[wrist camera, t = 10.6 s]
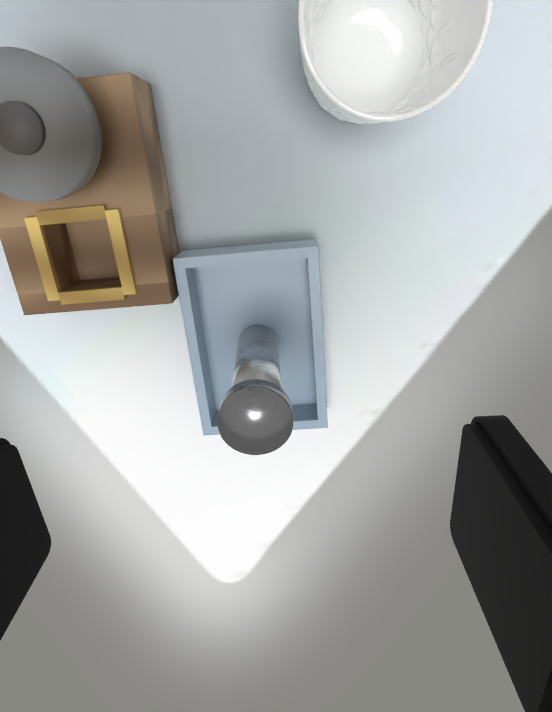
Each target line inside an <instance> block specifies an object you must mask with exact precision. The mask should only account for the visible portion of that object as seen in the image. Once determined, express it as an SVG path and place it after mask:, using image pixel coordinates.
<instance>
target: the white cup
mask: <svg viewBox="0 0 552 712" xmlns="http://www.w3.org/2000/svg"><path fill="white" fill-rule="evenodd" d="M493 2H494V0H299V7H298V26H299V37H300V49H301V57H302V63H303V67H304V72H305V76H306V79H307V83H308V85H309V87H310V89H311V91H312V93H313V94H314V96H315V98H316V100H317V102H318V104H319V106H320V107H322V108H323V109H324V110H326V111H327V112H329V113H330V114H331V115H333V116H334V117H336V118H337V119H338V120H340V121H348V122H351V123H356V124H377V123H384V122H390V121H398V120H403V119H407V118H411V117H414V116H417V115H419V114H421V113H424V112H426V111H428V110H429V109H431V108H433V107H434V106H436V105H437V104H439V103H440V102H442V101H443V100H444V99H445V98H447V97H448V96H449V95H450V94H451V93H452V92H453V91H454V90H455V89H456V88H457V87H458V86H459V85H460V83H461V82H462V81H463V80H464V79H465V77H466V76H467V75H468V73H469V72H470V70H471V69H472V67H473V65H474V64H475V62H476V60H477V58H478V56H479V54H480V52H481V50H482V47H483V45H484V42H485V40H486V37H487V34H488V30H489V27H490V22H491V17H492V11H493Z"/></svg>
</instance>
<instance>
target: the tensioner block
mask: <svg viewBox="0 0 552 712" xmlns="http://www.w3.org/2000/svg"><path fill="white" fill-rule="evenodd" d="M0 239H1V242H2V246H3V249H4V252H5V255H6V258H7V262H8V265H9V268H10V271H11V274H12V277H13V281H14V284H15V287H16V290H17V293H18V296H19V300H20V303H21V306H22V309H23V312H24V315H32V314H45V313H57V312H69V311H82V310H94V309H107V308H119V307H132V306H144V305H157V304H169V303H173V302H174V300H175V299H176V298H177V297H178V296H179V292H178V287H177V281H176V275H175V270H174V264H173V258H174V257H175V256H177V255H178V254H179V250H178V244H177V238H176V232H175V226H174V220H173V214H172V208H171V203H170V197H169V191H168V185H167V179H166V173H165V167H164V161H163V155H162V150H161V144H160V138H159V132H158V126H157V120H156V114H155V108H154V102H153V97H152V91H151V85H150V84H149V83H147V82H146V81H144V80H142V79H140V78H138V77H137V76H135V75H133V74H131V73H124V74H115V75H106V76H97V77H88V78H79V79H76V78H75V77H74V76H73V75H72V74H71V73H69V72H68V71H67V70H66V69H64V68H63V67H62V66H60V65H59V64H57V63H55V62H53V61H52V60H49V59H47V58H45V57H42V56H40V55H38V54H35V53H33V52H30V51H28V50H24V49H21V48H15V47H0Z"/></svg>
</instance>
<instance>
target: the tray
mask: <svg viewBox="0 0 552 712" xmlns="http://www.w3.org/2000/svg"><path fill="white" fill-rule="evenodd" d="M173 264H174V270H175V275H176V281H177V287H178V292H179V298H180V304H181V309H182V315H183V321H184V326H185V332H186V338H187V343H188V349H189V355H190V360H191V366H192V372H193V377H194V383H195V389H196V395H197V400H198V406H199V412H200V417H201V423H202V429H203V434H204V435H217V434H220V433H219V430H218V424H217V420H218V413H219V408H220V403H221V400H222V398H223V396H224V394H225V393H226V392H227V391H228V390H229V389H230V388H231V387H232V382H233V375H234V368H235V361H236V354H237V347H238V340H239V337H240V335H241V333H242V332H243V331H244V330H245V329H246V328H248V327H250V326H253V325H263V326H266V327H268V328H270V329H271V330H272V331H273V332H274V333H275V334H276V336H277V339H278V348H279V361H280V375H281V389H283V390H284V392H285V393H286V394H287V395H288V397H289V399H290V402H291V405H292V413H293V429H292V430H296V429H312V428H328V421H327V402H326V384H325V365H324V347H323V328H322V310H321V291H320V272H319V254H318V244H317V241H316V239H306V240H295V241H283V242H272V243H260V244H249V245H237V246H226V247H214V248H203V249H191V250H183V251H181V252H180V253H179V254H178V255H177V256H175V257H174V258H173Z"/></svg>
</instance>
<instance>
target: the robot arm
mask: <svg viewBox="0 0 552 712" xmlns="http://www.w3.org/2000/svg"><path fill="white" fill-rule="evenodd" d="M450 529H451V535H452V538H453V541H454V544H455V546H456V548H457V551H458V553H459V556H460V558H461V561H462V563H463V565H464V568H465V570H466V573H467V575H468V577H469V580H470V582H471V584H472V586H473V589H474V592H475V594H476V596H477V599H478V601H479V603H480V606H481V608H482V611H483V613H484V615H485V617H486V620H487V622H488V625H489V627H490V630H491V632H492V634H493V637H494V639H495V642H496V643H497V646H498V649H499V651H500V653H501V656H502V658H503V660H504V663H505V665H506V668H507V670H508V672H509V675H510V677H511V679H512V682H513V684H514V687H515V689H516V691H517V694H518V696H519V699H520V701H521V703H522V706H523V708H524V710H525V712H552V473H551V472H550V471H549V469H548V468H547V467H546V466H545V464H544V463H543V462H542V460H541V459H540V458H539V457H538V456H537V454H536V453H535V452H534V451H533V449H532V448H531V447H530V445H529V444H528V443H527V442H526V440H525V439H524V438H523V437H522V435H521V434H520V433H519V432H518V430H517V429H516V428H515V427H514V425H513V424H512V423H511V422H510V420H509V419H508V418H507V417H506V416H503V415H500V416H478V417H474V418H473V420H472V422H471V424H466V425H464V427H463V430H462V438H461V445H460V453H459V460H458V468H457V475H456V482H455V491H454V497H453V505H452V512H451V520H450ZM50 547H51V538H50V534H49V532H48V529H47V526H46V524H45V521H44V518H43V516H42V513H41V511H40V508H39V505H38V502H37V500H36V497H35V494H34V492H33V489H32V486H31V484H30V481H29V478H28V476H27V473H26V471H25V468H24V465H23V462H22V460H21V457H20V454H19V452H18V450H17V448H16V447H15V446H14V445H10V443H9V442H8V441H7V440H6V439H3V438H0V640H1V638H2V637H3V635H4V633H5V631H6V629H7V628H8V626H9V624H10V622H11V621H12V619H13V617H14V615H15V613H16V612H17V610H18V608H19V606H20V604H21V602H22V601H23V599H24V597H25V595H26V594H27V592H28V590H29V588H30V586H31V585H32V583H33V581H34V579H35V578H36V576H37V574H38V572H39V570H40V569H41V567H42V565H43V563H44V561H45V560H46V558H47V556H48V554H49V551H50Z"/></svg>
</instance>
